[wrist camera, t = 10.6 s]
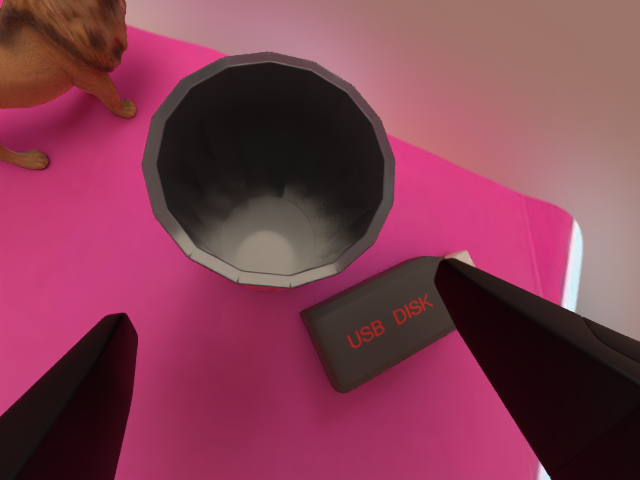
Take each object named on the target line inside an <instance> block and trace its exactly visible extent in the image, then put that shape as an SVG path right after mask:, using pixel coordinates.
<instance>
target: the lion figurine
mask: <svg viewBox="0 0 640 480" xmlns="http://www.w3.org/2000/svg"><path fill="white" fill-rule="evenodd" d="M125 14H126V2H125V0H3V3H2V7H1V8H0V109H6V108H29V107H33V106H37V105H40V104H44V103H47V102H49V101H52V100H54V99H56V98H58V97H59V96H61V95H62V94H64V93H65V92H67V91H68V90H69V89H71V88H72V87H73V86H74V85H75V86H77V87H78V88H79V89H82V90H84V91H85V92H87V93H90V94H93V95H94V96H95V97H97V98H98V99H99V100H100V101H101V102H102V103H103V104H104V105H105V106H106V108H107V109H109V110H110V111H112V112H113V113H115V114H117V115H119V116H121V117H125V118H131V117H133V116H135V114H136V106H135V104H134V103H132V102H131V101H130V100H129V99H124V100H121V99H120V98H119V95H118V92H117V89H116V87H115V85H114V83H113V82H112V80H111V79H110V77H109V75H108V73H110V72H112V71H113V70H114V68H117V67H118V65H120V64H121V56H122V54H123V52H124V51H126V49H127V33H126V29H127V28H126V24H125ZM0 161H5V162H9V163H13V164H16V165H18V166H21V167H24V168H28V169H42V168H45V167H46V165H47V164H48V158H47V157H46V155H45V154H44V153H43V152H41V151H40V150H35V149H33V150H29V151H26V152H15V151H12V150H9V149H7V148H5V147H4V146H3V145H2V144H1V143H0Z"/></svg>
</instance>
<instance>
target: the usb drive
mask: <svg viewBox="0 0 640 480" xmlns="http://www.w3.org/2000/svg"><path fill="white" fill-rule="evenodd" d="M446 258H456V259H458V260H460V261H463V262H465V263H467V264H469V265H471V266H473V267H475V266H474V264H473V262H472V260H471V258H470V256H469V254H468V252H467V251H466V250H464V251H459V252H455V253H451V254H449V255H447V256H445V257H432V256H422V257H417V258H413V259H409V260H406V261H404V262H402V263H400V264H398V265H396V266H394V267H392V268H389V269H387V270H385V271H383V272H381V273H379V274H377V275H375V276H373V277H371V278H369V279H367V280H365V281H363V282H361V283H359V284H357V285H355V286H352V287H350V288H348V289H346V290H344V291H342V292H340V293H338V294H336V295H334V296H332V297H330V298H328V299H326V300H324V301H322V302H320V303H318V304H315V305H313V306H311V307H309V308H307V309H305V310H303V311H302V312H300V314H301V316H302V319H303V321H304V323H305V325H306V328H307V330H308V332H309V335H310V337H311V339H312V341H313V344H314V346H315V348H316V351H317V353H318V355H319V357H320V360H321V362H322V364H323V366H324V369H325V371H326V373H327V376H328V378H329V380H330V382H331V385H332V387H333V388H334V390H335V391H337V392H338V393H347V392H349V391H351V390H353V389H355V388H357V387H358V386H360V385H362V384H364V383H365V382H367V381H369V380H371V379H372V378H374V377H376V376H377V375H379V374H381V373H383V372H384V371H386V370H388V369H389V368H391V367H393V366H395V365H396V364H398V363H400V362H401V361H403V360H405V359H406V358H408V357H410V356H412V355H413V354H415V353H417V352H418V351H420V350H422V349H424V348H425V347H427V346H429V345H430V344H432V343H434V342H436V341H437V340H439V339H441V338H442V337H444V336H446V335H448V334H449V333H451V332H453V331H454V330H456V329H457V328H456V327H455V325H454V323H453V321H452V319H451V317H450V315H449V313H448V311H447V309H446V307H445V305H444V303H443V301H442V299H441V297H440V295H439V293H438V291H437V289H436V287H435V284H434V276H435V273H436V270H437V267H438V264H439V262H440V260H442V259H446Z"/></svg>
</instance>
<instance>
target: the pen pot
mask: <svg viewBox="0 0 640 480" xmlns="http://www.w3.org/2000/svg"><path fill="white" fill-rule="evenodd" d="M142 170H143V174H144V178H145V182H146V186H147V190H148V195H149V199H150V203H151V207H152V211H153V214H154V215H155V218H156V219H157V220H158V222H159V223H160V224H161V225H162V227H163V228H164V229H165V230H166V232H167V233H168V234H169V235H170V237H171V238H172V239H173V240H174V242H175V243H176V244H177V245H178V247H179V248H180V249H181V250H182V252H183V253H184V254H185V255H186V257H188V258H189V259H190V260H192V261H194V262H196V263H198V264H200V265H201V266H203V267H205V268H207V269H209V270H211V271H213V272H215V273H217V274H218V275H220V276H222V277H224V278H226V279H228V280H230V281H232V282H234V283H236V284H238V285H240V286H243V287H245V288H247V289H250V290H252V291H262V292H277V291H283V290H288V289H293V288H296V287H299V286H302V285H306V284H309V283H312V282H315V281H318V280H322V279H325V278H328V277H331V276H334V275H337V274H339V273H341V272H342V271H343V270H344V269H345V268H347V267H348V266H349V265H350V264H351V263H352V262H354V261H355V260H356V259H357V258H358V257H359V256H360V255H362V254H363V253H364V252H365V251H366V250H367V249H369V248H370V247H371V246H372V245H373V244H374V243H375V241H376V239H377V237H378V235H379V233H380V231H381V229H382V227H383V225H384V222H385V220H386V218H387V216H388V214H389V212H390V210H391V208H392V206H393V202H394V181H395V158H394V155H393V152H392V149H391V146H390V143H389V141H388V138H387V135H386V132H385V129H384V126H383V124H382V121H381V120H380V118H379V116H378V115H377V114H376V113H375V111H374V110H373V109H372V108H371V107H370V105H369V104H368V103H367V102H366V101H365V99H364V98H363V97H362V96H361V95H360V93H359V92H358V91H357V90H356V89H355V87H354V86H352V84H350V83H348V82H347V81H345V80H343V79H342V78H340V77H339V76H337V75H335V74H334V73H332V72H330V71H328V70H327V69H325V68H324V67H322V66H321V65H319V64H317V63H316V62H313V61H309V60H305V59H300V58H296V57H291V56H287V55H283V54H278V53H273V52H270V53H269V52H261V53H254V54H244V55H236V56H227V57H224V58H220V59H218V60H216V61H215V62H213V63H211V64H209V65H207V66H205V67H203V68H201V69H200V70H198V71H196V72H194V73H192V74H190V75H188V76H186V77H185V78H183V79H182V80H180V82H179V83H178V84H177V85H176V87H175V88H174V89H173V91H172V92H171V93H170V94H169V96H168V97H167V98H166V99H165V101H164V102H163V103H162V105H161V106H160V107H159V108H158V110H157V111H156V112H155V114H154V115H153V117H152V119H151V123H150V128H149V132H148V137H147V142H146V146H145V151H144V155H143V160H142Z"/></svg>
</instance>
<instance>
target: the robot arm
mask: <svg viewBox="0 0 640 480" xmlns="http://www.w3.org/2000/svg"><path fill="white" fill-rule="evenodd" d="M434 284H435V287H436V289H437V291H438V293H439V295H440V297H441V299H442V301H443V303H444V305H445V307H446V309H447V311H448V313H449V315H450V317H451V319H452V321H453V323H454V325H455V327H456V328H457V330H458V332H459V333H460V335H461V337H462V338H463V340H464V341H465V343H466V345H467V346H468V348H469V349H470V351H471V353H472V354H473V356H474V357H475V359H476V360H477V362H478V364H479V365H480V367H481V368H482V370H483V372H484V373H485V375H486V376H487V378H488V380H489V381H490V383H491V384H492V386H493V388H494V389H495V391H496V392H497V394H498V396H499V397H500V399H501V400H502V402H503V403H504V405H505V407H506V408H507V410H508V411H509V413H510V415H511V416H512V418H513V419H514V421H515V423H516V424H517V426H518V427H519V429H520V431H521V432H522V434H523V435H524V437H525V439H526V440H527V442H528V443H529V445H530V446H531V448H532V450H533V451H534V453H535V454H536V456H537V458H538V459H539V461H540V462H541V464H542V466H543V467H544V469H545V470H546V472H547V474H548V475H549V476H550V479H551V480H640V342H639V341H637V340H635V339H632V338H630V337H627V336H625V335H623V334H620V333H618V332H616V331H613V330H611V329H609V328H607V327H605V326H602V325H600V324H598V323H596V322H593V321H591V320H589V319H587V318H585V317H581V316H580V315H578V314H576V313H574V312H572V311H570V310H567V309H565V308H563V307H561V306H559V305H556V304H554V303H552V302H550V301H548V300H546V299H543V298H541V297H539V296H537V295H535V294H532V293H530V292H528V291H526V290H524V289H522V288H519V287H517V286H515V285H513V284H511V283H508V282H506V281H504V280H502V279H500V278H498V277H495V276H493V275H491V274H489V273H487V272H484V271H482V270H480V269H478V268H476V267H473V266H471V265H469V264H467V263H465V262H463V261H460V260H458V259H456V258H446V259H442V260H440V262H439V264H438V267H437V270H436V273H435V276H434ZM137 346H138V335H137V332H136V330H135V328H134V326H133V324H132V322H131V321H130V319H129V317H128V315H127V314H126V313H116V314H110V315H107V316H105V317H104V318H103V319H101V320H100V321H99V322H98V323H97V324H96V325H95V326H94V327H93V328H92V329H91V330H90V331H89V332H88V333H87V334H86V335H85V336H84V337H83V338H82V339H81V340H80V341H79V342H78V343H77V344H75V345H74V346H73V347H72V348H71V349H70V350H69V351H68V352H67V353H66V354H65V355H64V356H63V357H62V358H61V359H60V360H59V361H58V362H57V363H56V364H55V365H54V366H53V367H52V368H50V369H49V370H48V371H47V372H46V373H45V374H44V375H43V376H42V377H41V378H40V379H39V380H38V381H37V382H36V383H35V384H34V385H33V386H32V387H31V388H30V389H29V390H28V391H27V392H26V393H24V394H23V395H22V396H21V397H20V398H19V399H18V400H17V401H16V402H15V403H14V404H13V405H12V406H11V407H10V408H9V409H8V410H7V411H6V412H5V413H4V414H3V415H2V416H1V417H0V480H114V478H115V474H116V469H117V465H118V460H119V456H120V451H121V447H122V442H123V438H124V434H125V429H126V425H127V420H128V416H129V411H130V406H131V401H132V394H133V386H134V376H135V366H136V356H137Z"/></svg>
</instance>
